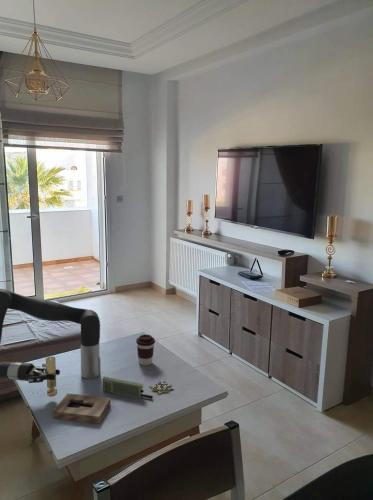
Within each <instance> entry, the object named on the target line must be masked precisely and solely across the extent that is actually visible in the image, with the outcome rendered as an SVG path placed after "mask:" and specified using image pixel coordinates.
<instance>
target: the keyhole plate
mask: <svg viewBox="0 0 373 500" xmlns="http://www.w3.org/2000/svg"><path fill="white" fill-rule="evenodd" d="M70 403H73V404H82V406H79V407H71V406H69V405H70ZM83 405H85V406H83ZM89 406H90V407H89ZM91 406H92V407H91ZM110 407H111V397H104V396H95V395H85V394H78V393H66V394H65V396H64V397H63V398H62V400H60V401H59V403H58V404H57V405H56V407H55V408H54V409H53V410H52V418H53V419H55V420H63V421H73V422H79V423H88V424H89V423H91V424H95V425H96V424H97V425H98V424H99V425H100V423H101V422H102V420H103V418H104V417H105V415H106V413H107V412H108V409H109V408H110Z"/></svg>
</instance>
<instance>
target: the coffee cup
mask: <svg viewBox="0 0 373 500" xmlns="http://www.w3.org/2000/svg"><path fill="white" fill-rule="evenodd" d="M135 341H136V343H135V344H137V346H136V347H137V348H136V349H137V357H138V358H137V359H138V364H139V365H140V364H141V366H150V365H151V364H152V363H153V356H154V350H155V346H154V345H155V342H156V338H155V337H153V336H152V335H150V334H141V335H140V336H139V337H138V338H136V340H135ZM149 364H150V365H149Z"/></svg>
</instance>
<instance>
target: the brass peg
mask: <svg viewBox="0 0 373 500" xmlns="http://www.w3.org/2000/svg"><path fill="white" fill-rule="evenodd" d="M45 364H46V375H47V374H52V375H55V380H47V379H46V388H48V389H47V390H46V396H47V397H49V398H50V397H51V398H52V397H55V396H57V395H58V389H57V388H56V387H57V375H56V368H57V366H56V365H57V363H56V357H55V356H47V357H46V358H45Z"/></svg>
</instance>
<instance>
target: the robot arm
mask: <svg viewBox="0 0 373 500" xmlns="http://www.w3.org/2000/svg"><path fill="white" fill-rule="evenodd" d="M8 310H14V311H19V312H22V313H24V314H26V315H29V316H31V317H33V318H36V319H39V320H43V321H49V322H71V323H74V324H79V325H80V376H81V378H83V379H86V380H92V379H95V378H98V377H101V370H102V369H101V366H102V365H101V362H102V361H101V356H100V352H101V351H100V341H101V321H100V320H101V319H100V317H99V315H98V313H97V312H96V311H95V310H92V309H87V308H79V307H74V306H69V305H67V304H64V303H63V304H62V303H61V302H60V303H59V302H56V301H53V300H47V299H44V298H38V297H31V296H26V295H22V294H19V293H16V292H13V291H11V290H8V289H5V288H0V344H1V343H2V336H3V335H2V334H3V326H4V320H5V317H6V315H7V312H8ZM41 364H42V365H41V366H38V365H37V366H35V365H34V364H33V363H29V362H12V361H1V362H0V379H1V378H2V379H10V380H14V381H21V382H22V381H24V382H28V384H35V383H43V382H44V381H47V380H55V375H52V374H47V375H46V363H41ZM60 374H61V370H60V369H56V376H59V375H60Z"/></svg>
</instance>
